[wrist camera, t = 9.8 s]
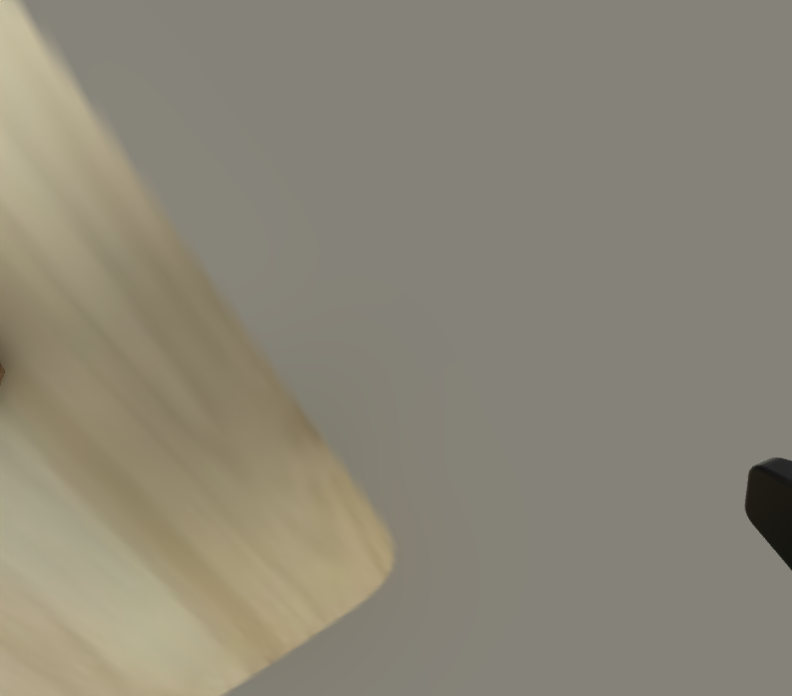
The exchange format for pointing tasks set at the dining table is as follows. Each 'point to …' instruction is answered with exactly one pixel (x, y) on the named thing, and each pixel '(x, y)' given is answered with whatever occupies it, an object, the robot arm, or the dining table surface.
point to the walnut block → (1, 373)
